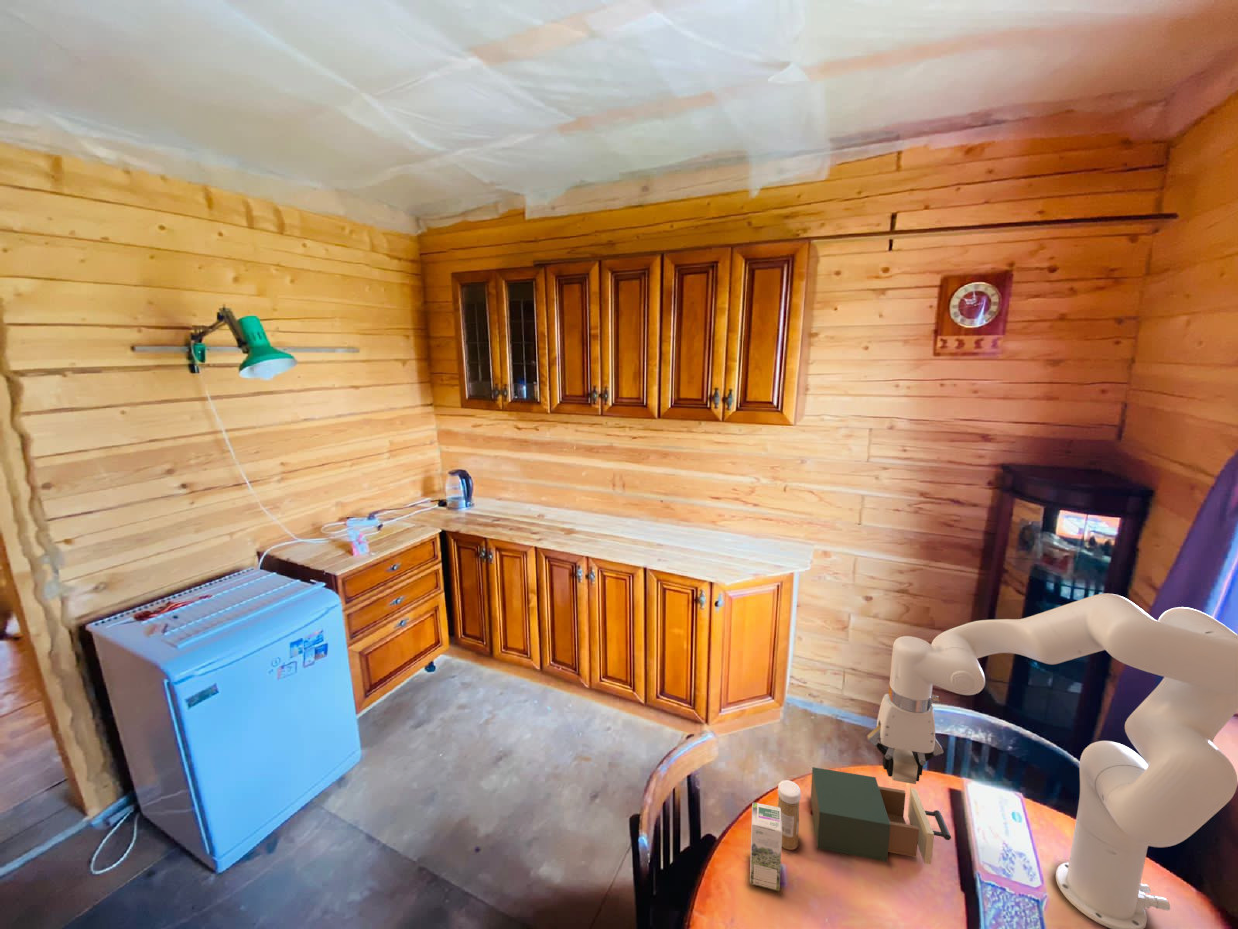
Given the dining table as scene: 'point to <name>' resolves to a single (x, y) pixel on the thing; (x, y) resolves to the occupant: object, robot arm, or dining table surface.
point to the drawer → (920, 829)
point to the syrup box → (766, 846)
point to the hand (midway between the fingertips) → (901, 773)
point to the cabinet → (849, 814)
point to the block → (904, 766)
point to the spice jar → (789, 812)
